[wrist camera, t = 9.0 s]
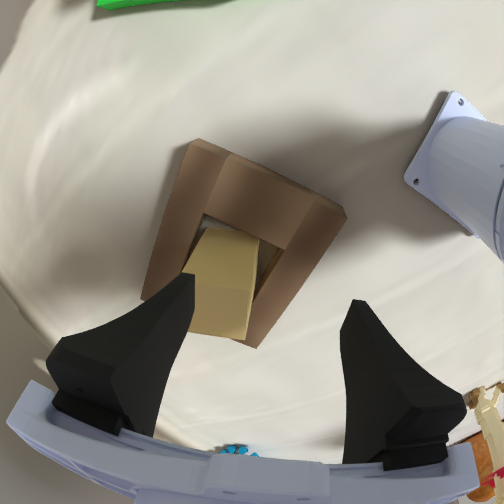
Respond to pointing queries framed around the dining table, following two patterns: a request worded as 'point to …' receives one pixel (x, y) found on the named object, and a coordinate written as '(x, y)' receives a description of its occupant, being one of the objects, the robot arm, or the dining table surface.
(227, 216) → the brown square frame
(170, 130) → the dining table surface
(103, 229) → the dining table surface
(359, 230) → the dining table surface
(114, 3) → the mechanical part
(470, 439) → the bread
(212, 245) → the sand colored cuboid
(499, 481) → the cat figure
